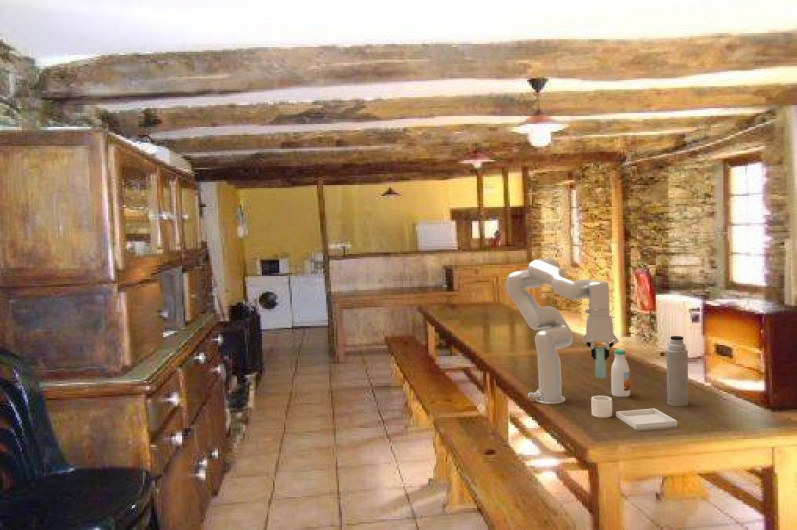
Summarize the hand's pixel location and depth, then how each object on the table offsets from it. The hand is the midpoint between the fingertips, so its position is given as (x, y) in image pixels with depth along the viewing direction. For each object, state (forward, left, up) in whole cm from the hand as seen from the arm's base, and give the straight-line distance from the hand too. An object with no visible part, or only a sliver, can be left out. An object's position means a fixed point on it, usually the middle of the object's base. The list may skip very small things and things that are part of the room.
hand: (600, 358), depth 253 cm
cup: (0, 0, -23) cm, 23 cm away
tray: (+12, -12, -23) cm, 29 cm away
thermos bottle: (+36, +7, -23) cm, 43 cm away
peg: (0, 0, -7) cm, 7 cm away
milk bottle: (+20, +25, -23) cm, 40 cm away
